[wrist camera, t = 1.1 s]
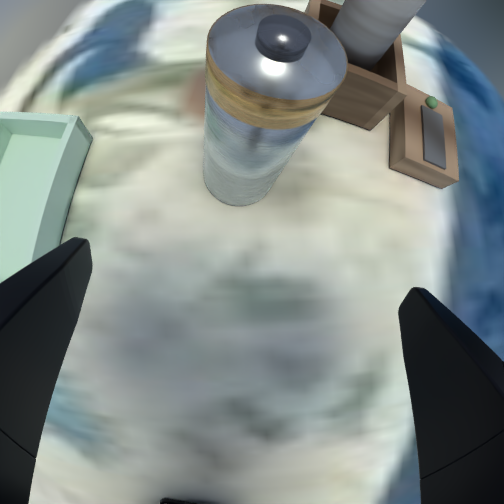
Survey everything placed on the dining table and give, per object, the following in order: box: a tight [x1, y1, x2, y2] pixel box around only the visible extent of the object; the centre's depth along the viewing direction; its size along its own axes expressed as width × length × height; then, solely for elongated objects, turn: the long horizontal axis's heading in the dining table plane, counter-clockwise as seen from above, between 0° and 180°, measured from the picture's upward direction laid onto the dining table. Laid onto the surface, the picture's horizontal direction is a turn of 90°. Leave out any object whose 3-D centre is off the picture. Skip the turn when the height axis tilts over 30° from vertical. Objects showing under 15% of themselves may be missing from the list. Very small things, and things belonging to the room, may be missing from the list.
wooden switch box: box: [390, 84, 459, 189], centre depth 24 cm, size 8×6×3 cm
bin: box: [305, 0, 426, 130], centre depth 18 cm, size 8×8×13 cm
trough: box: [0, 112, 93, 283], centre depth 18 cm, size 13×9×4 cm, turn 169°
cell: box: [204, 4, 348, 206], centre depth 16 cm, size 5×5×14 cm
